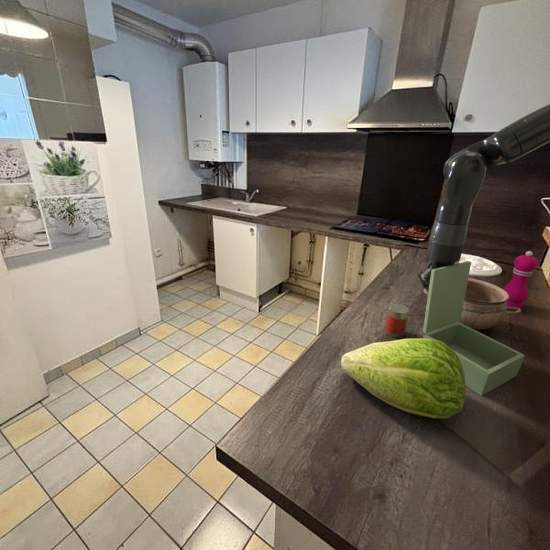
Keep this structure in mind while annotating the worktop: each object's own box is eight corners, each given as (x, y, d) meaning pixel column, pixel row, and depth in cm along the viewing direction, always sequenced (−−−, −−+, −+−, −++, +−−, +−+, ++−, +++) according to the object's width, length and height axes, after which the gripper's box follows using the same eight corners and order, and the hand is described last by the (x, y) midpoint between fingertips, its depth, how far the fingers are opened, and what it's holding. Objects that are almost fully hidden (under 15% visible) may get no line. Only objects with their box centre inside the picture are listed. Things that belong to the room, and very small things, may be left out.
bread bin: (515, 378, 69) (525, 355, 66) (480, 398, 63) (489, 373, 60) (452, 342, 82) (458, 321, 79) (418, 356, 76) (423, 334, 74)
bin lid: (471, 261, 73) (467, 260, 74) (434, 270, 68) (431, 269, 68) (460, 320, 79) (457, 319, 79) (425, 333, 73) (422, 332, 74)
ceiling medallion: (452, 252, 156) (454, 246, 155) (513, 268, 134) (515, 262, 133) (420, 261, 143) (421, 255, 142) (481, 281, 121) (483, 274, 120)
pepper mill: (526, 306, 101) (548, 252, 93) (518, 312, 97) (540, 256, 90) (502, 298, 107) (520, 246, 99) (494, 304, 103) (512, 250, 95)
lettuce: (338, 415, 65) (362, 380, 77) (468, 438, 50) (471, 391, 63) (325, 352, 64) (351, 328, 76) (454, 357, 49) (460, 326, 62)
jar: (393, 328, 89) (398, 301, 85) (408, 337, 84) (413, 310, 81) (379, 332, 86) (384, 305, 83) (394, 342, 82) (399, 314, 78)
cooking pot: (414, 325, 90) (422, 290, 85) (422, 301, 104) (429, 270, 100) (515, 353, 78) (531, 313, 73) (508, 321, 92) (521, 286, 88)
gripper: (442, 247, 65) (427, 314, 72) (478, 240, 71) (461, 303, 77) (414, 239, 72) (402, 301, 78) (449, 233, 77) (435, 292, 84)
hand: (431, 302), depth 78 cm, fingers closed
